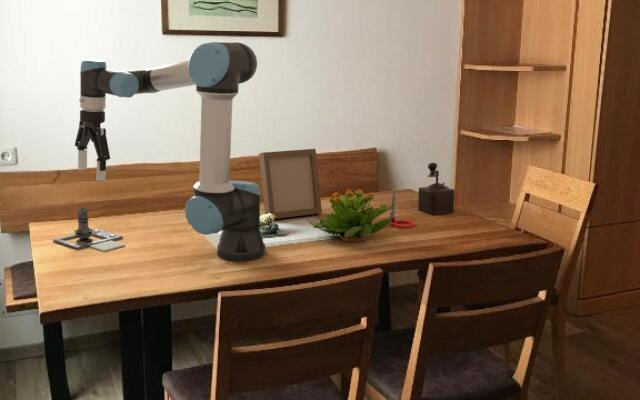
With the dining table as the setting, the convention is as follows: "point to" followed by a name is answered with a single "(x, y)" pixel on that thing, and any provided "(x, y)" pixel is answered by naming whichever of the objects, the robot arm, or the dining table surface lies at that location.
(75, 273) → the dining table surface
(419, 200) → the manual coffee grinder
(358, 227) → the potted flower
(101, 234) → the grey metal rectangular frame
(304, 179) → the photo frame
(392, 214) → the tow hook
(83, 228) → the dark grey chess piece
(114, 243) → the mat
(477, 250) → the dining table surface
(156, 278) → the dining table surface
